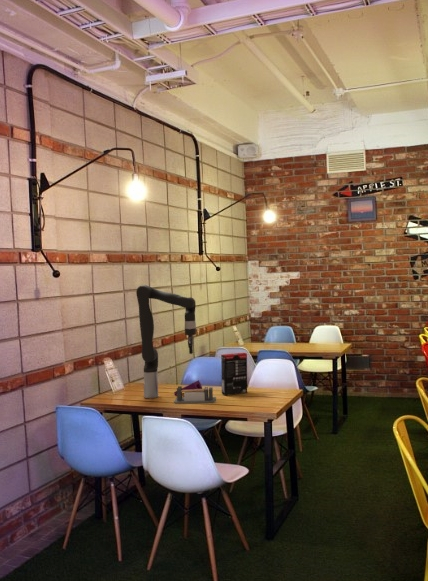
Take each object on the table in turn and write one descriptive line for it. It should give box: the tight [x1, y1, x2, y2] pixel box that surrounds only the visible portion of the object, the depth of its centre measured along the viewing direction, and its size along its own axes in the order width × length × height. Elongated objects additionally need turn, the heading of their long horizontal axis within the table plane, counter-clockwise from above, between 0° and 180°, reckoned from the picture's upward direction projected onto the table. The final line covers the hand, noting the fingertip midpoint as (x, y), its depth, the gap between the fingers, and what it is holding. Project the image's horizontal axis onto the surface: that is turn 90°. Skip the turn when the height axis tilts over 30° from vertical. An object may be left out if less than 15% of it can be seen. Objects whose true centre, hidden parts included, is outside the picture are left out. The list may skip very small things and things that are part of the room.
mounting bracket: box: [173, 380, 203, 396], centre depth 389 cm, size 10×8×18 cm
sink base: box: [173, 385, 217, 404], centre depth 370 cm, size 26×13×9 cm, turn 86°
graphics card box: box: [220, 352, 248, 396], centre depth 388 cm, size 17×7×27 cm, turn 115°
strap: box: [181, 386, 209, 393], centre depth 370 cm, size 19×3×2 cm, turn 86°
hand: (191, 353), depth 382 cm, fingers closed
